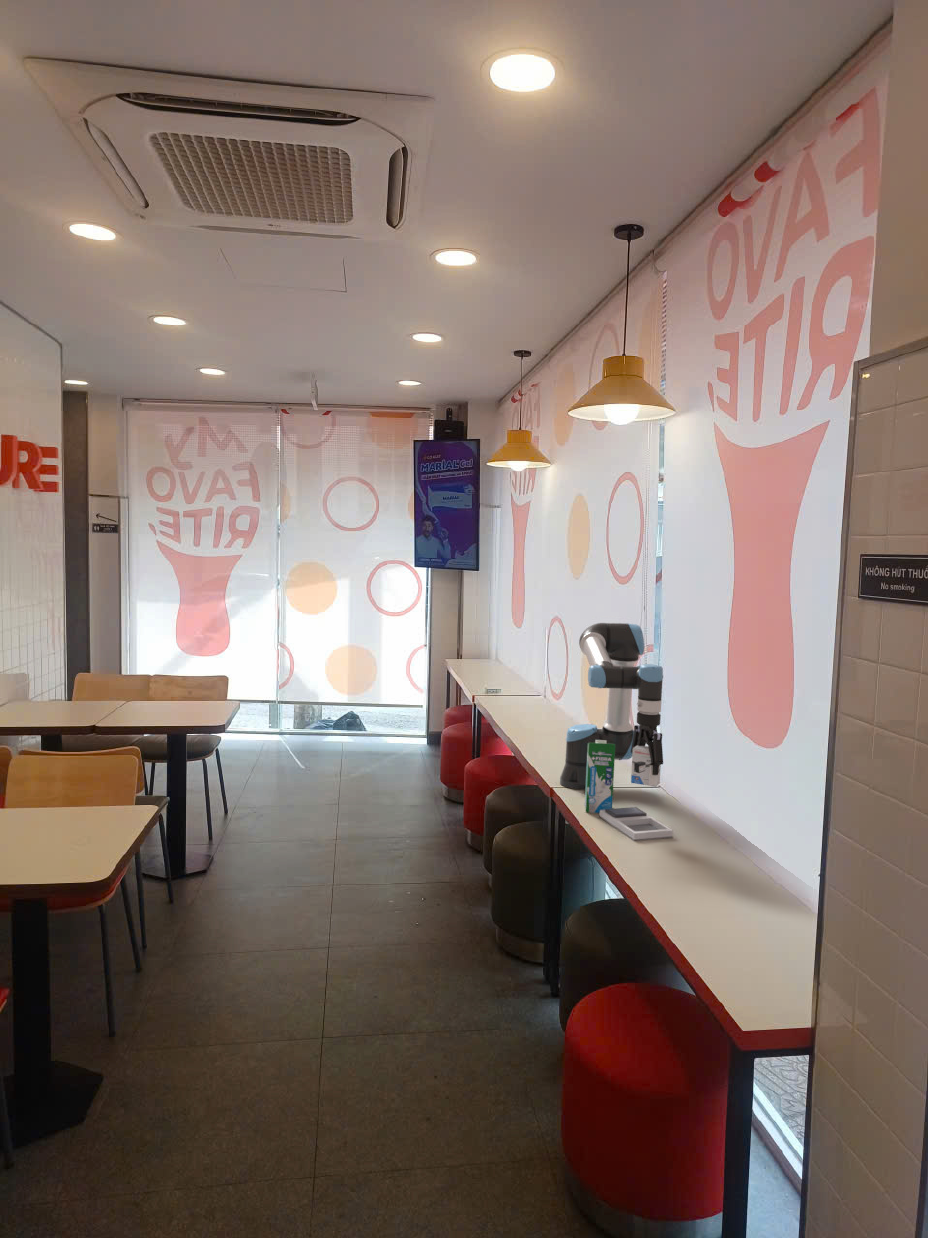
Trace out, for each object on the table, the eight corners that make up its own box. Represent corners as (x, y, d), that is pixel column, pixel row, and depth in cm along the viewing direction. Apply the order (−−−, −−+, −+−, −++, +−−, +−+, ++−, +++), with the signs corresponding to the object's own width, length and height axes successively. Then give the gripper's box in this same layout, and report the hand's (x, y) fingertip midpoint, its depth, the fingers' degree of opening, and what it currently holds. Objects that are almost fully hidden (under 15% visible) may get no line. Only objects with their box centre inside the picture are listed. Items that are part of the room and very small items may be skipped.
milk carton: (609, 806, 298) (613, 738, 296) (611, 814, 290) (615, 743, 287) (584, 804, 299) (587, 736, 297) (585, 812, 290) (589, 742, 288)
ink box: (630, 783, 270) (632, 747, 269) (634, 779, 274) (636, 744, 273) (656, 787, 266) (658, 751, 265) (660, 783, 270) (662, 748, 269)
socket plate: (599, 817, 286) (599, 810, 286) (635, 814, 290) (635, 807, 290) (634, 841, 263) (634, 833, 263) (672, 837, 267) (673, 830, 267)
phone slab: (605, 811, 284) (605, 809, 284) (636, 809, 288) (636, 806, 288) (614, 818, 277) (614, 815, 277) (646, 815, 281) (646, 813, 281)
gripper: (622, 706, 277) (619, 772, 279) (656, 719, 257) (652, 790, 259) (642, 705, 280) (638, 771, 282) (677, 718, 259) (673, 789, 261)
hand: (645, 780), depth 270 cm, fingers closed on ink box, 9 cm apart
